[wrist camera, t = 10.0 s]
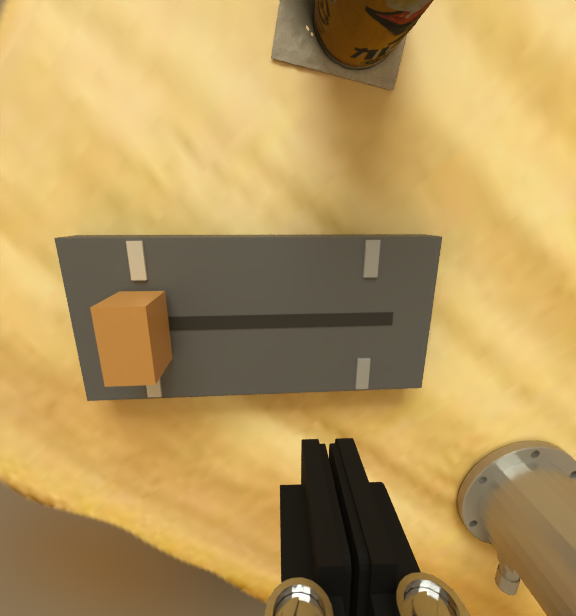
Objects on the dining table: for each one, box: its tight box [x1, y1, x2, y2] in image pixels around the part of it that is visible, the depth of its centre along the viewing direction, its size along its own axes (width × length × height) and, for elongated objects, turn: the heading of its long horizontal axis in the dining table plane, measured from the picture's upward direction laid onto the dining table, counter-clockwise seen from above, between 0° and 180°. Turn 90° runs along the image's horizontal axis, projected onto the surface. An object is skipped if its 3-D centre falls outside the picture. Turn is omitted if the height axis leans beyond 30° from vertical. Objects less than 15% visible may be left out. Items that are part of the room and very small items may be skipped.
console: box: [55, 235, 442, 401], centre depth 24 cm, size 26×12×3 cm, turn 90°
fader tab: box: [90, 291, 173, 387], centre depth 20 cm, size 3×5×4 cm, turn 0°
